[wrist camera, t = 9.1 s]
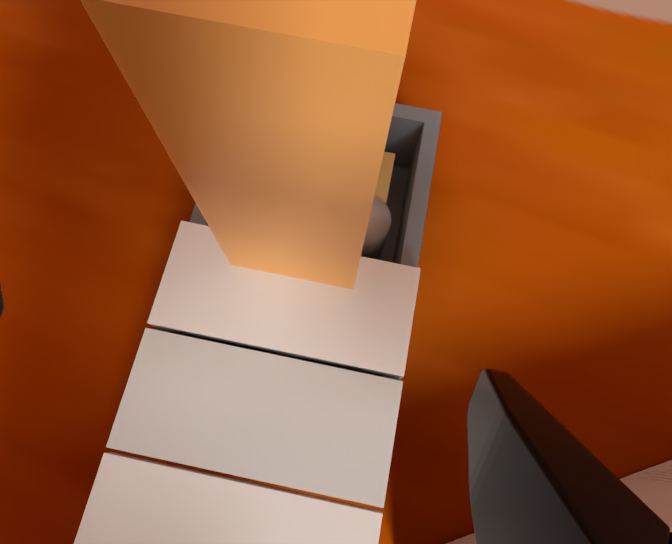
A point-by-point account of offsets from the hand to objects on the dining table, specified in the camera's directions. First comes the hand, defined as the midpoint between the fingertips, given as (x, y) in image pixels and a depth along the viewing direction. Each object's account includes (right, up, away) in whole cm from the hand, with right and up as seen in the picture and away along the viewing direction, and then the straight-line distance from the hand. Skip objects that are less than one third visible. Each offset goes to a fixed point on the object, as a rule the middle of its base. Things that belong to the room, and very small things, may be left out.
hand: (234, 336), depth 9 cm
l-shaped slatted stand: (0, -3, +6) cm, 7 cm away
